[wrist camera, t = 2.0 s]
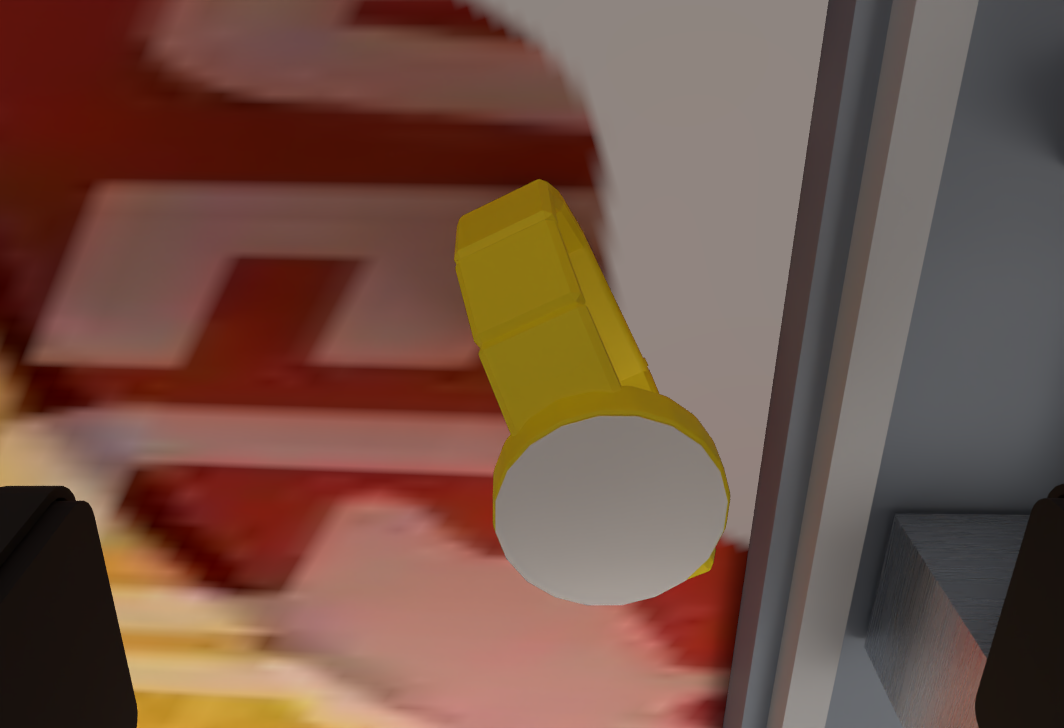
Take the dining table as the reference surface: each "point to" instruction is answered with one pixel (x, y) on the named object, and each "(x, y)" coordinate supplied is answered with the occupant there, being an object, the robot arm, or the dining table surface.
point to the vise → (905, 331)
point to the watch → (581, 416)
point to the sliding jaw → (940, 611)
